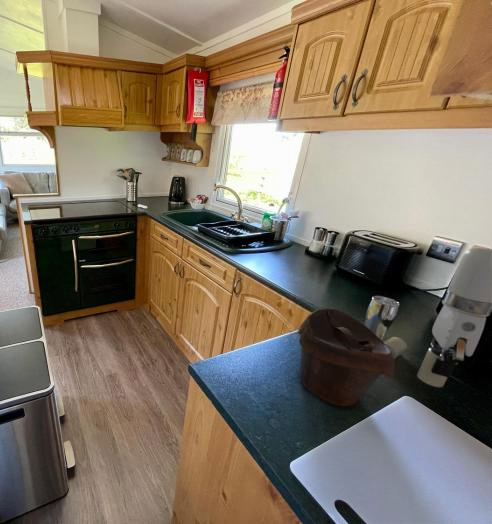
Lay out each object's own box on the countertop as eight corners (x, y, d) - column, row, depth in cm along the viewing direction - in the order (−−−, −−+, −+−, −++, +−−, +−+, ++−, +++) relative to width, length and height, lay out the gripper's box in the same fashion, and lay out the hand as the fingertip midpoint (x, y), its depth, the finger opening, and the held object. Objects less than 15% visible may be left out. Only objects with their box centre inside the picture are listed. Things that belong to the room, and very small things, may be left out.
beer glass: (361, 345, 91) (376, 303, 86) (354, 333, 97) (368, 293, 92) (387, 351, 89) (405, 308, 84) (378, 338, 95) (394, 298, 90)
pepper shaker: (439, 378, 74) (454, 348, 71) (446, 390, 70) (462, 359, 67) (414, 370, 76) (427, 341, 73) (419, 382, 72) (433, 351, 69)
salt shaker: (400, 334, 87) (386, 342, 82) (411, 351, 85) (398, 360, 81) (383, 339, 91) (369, 347, 86) (393, 355, 89) (380, 363, 84)
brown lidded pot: (361, 435, 60) (393, 365, 54) (272, 376, 75) (289, 316, 69) (388, 398, 70) (417, 336, 64) (305, 353, 85) (322, 299, 79)
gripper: (511, 324, 57) (470, 396, 63) (474, 293, 71) (444, 354, 77) (458, 313, 60) (425, 382, 66) (433, 285, 74) (408, 345, 80)
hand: (436, 367), depth 72 cm, fingers closed on pepper shaker, 5 cm apart
